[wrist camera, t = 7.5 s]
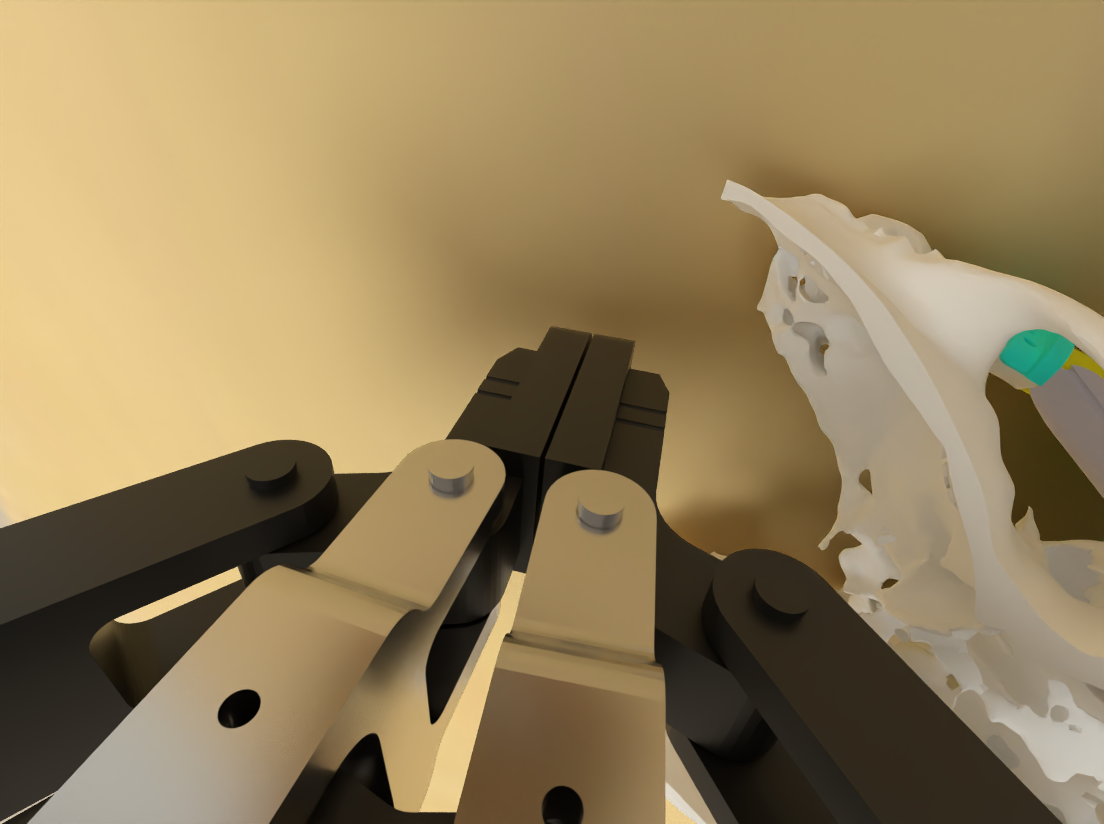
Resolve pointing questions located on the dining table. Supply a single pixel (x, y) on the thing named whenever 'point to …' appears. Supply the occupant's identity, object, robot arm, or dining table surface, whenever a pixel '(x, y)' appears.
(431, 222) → the dining table surface
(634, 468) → the robot arm
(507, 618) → the dining table surface
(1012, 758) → the white irregular lump
